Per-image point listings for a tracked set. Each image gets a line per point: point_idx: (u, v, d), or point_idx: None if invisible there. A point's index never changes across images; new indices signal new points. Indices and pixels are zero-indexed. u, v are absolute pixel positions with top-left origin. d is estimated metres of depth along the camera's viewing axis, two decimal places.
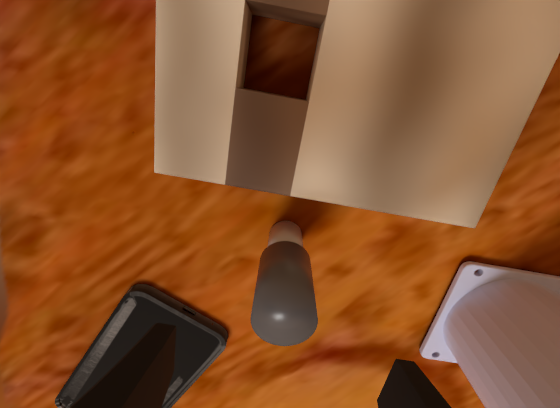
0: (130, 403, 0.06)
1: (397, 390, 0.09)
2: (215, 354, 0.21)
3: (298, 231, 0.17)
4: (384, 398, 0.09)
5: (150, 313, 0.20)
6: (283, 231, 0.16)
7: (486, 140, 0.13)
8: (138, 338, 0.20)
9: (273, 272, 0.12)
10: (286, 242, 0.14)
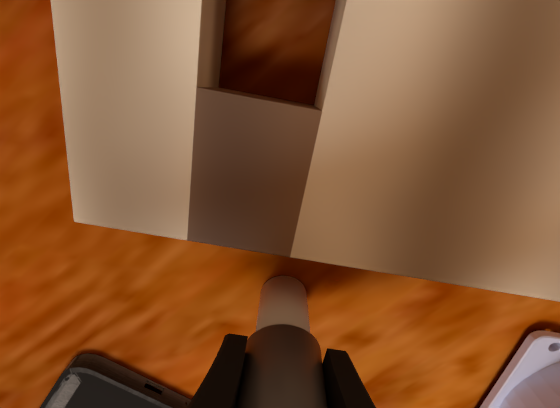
0: None
1: (325, 379, 0.09)
2: None
3: (301, 293, 0.12)
4: None
5: (101, 393, 0.14)
6: (280, 299, 0.11)
7: None
8: None
9: (261, 405, 0.07)
10: (284, 327, 0.09)
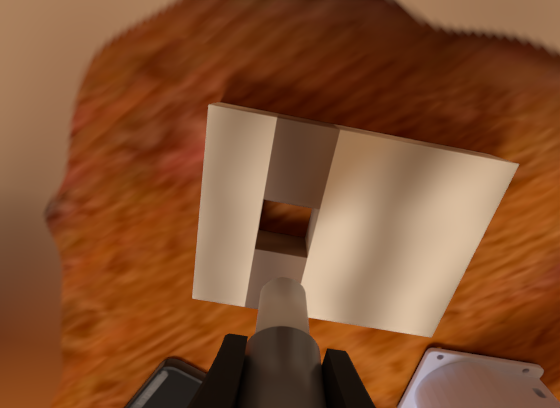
0: None
1: (325, 379, 0.09)
2: None
3: (301, 295, 0.12)
4: None
5: (179, 382, 0.24)
6: (278, 300, 0.11)
7: (436, 283, 0.18)
8: (168, 399, 0.25)
9: (260, 407, 0.07)
10: (282, 329, 0.09)
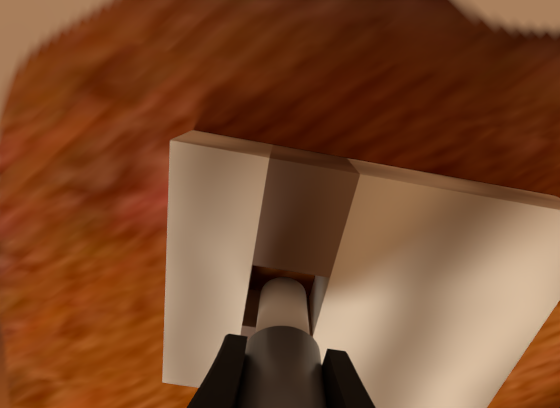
0: None
1: (325, 379, 0.09)
2: None
3: (301, 294, 0.12)
4: None
5: None
6: (278, 300, 0.11)
7: (484, 366, 0.13)
8: None
9: (260, 407, 0.07)
10: (282, 329, 0.09)
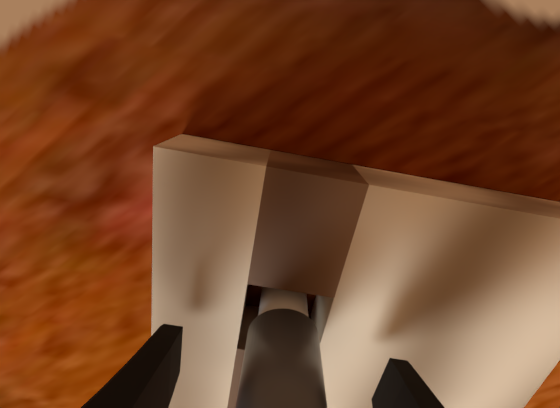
0: (139, 404, 0.06)
1: (390, 389, 0.09)
2: None
3: None
4: (378, 397, 0.09)
5: None
6: None
7: (502, 392, 0.12)
8: None
9: (263, 377, 0.08)
10: (283, 311, 0.10)
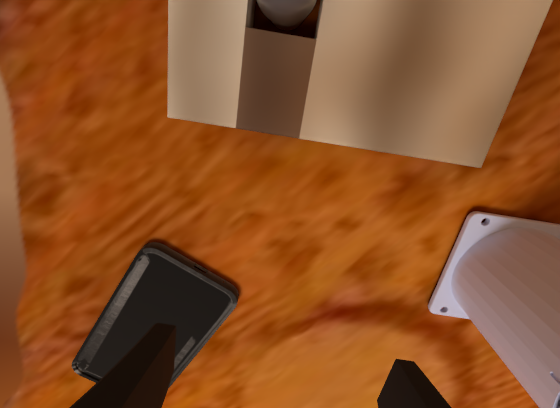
0: (130, 403, 0.06)
1: (397, 390, 0.09)
2: (226, 312, 0.21)
3: None
4: (384, 398, 0.09)
5: (163, 271, 0.20)
6: None
7: (490, 74, 0.13)
8: (152, 297, 0.21)
9: None
10: None
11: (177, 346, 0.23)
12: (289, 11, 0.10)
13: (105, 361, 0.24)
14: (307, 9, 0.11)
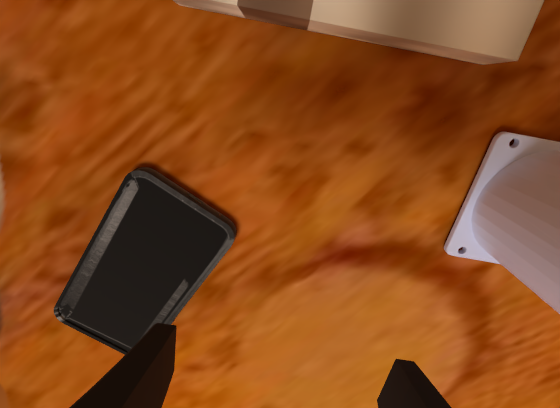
0: (130, 403, 0.06)
1: (397, 390, 0.09)
2: (223, 251, 0.19)
3: None
4: (384, 398, 0.09)
5: (153, 199, 0.18)
6: None
7: None
8: (141, 231, 0.19)
9: None
10: None
11: (169, 289, 0.21)
12: None
13: (90, 307, 0.22)
14: None
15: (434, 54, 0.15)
